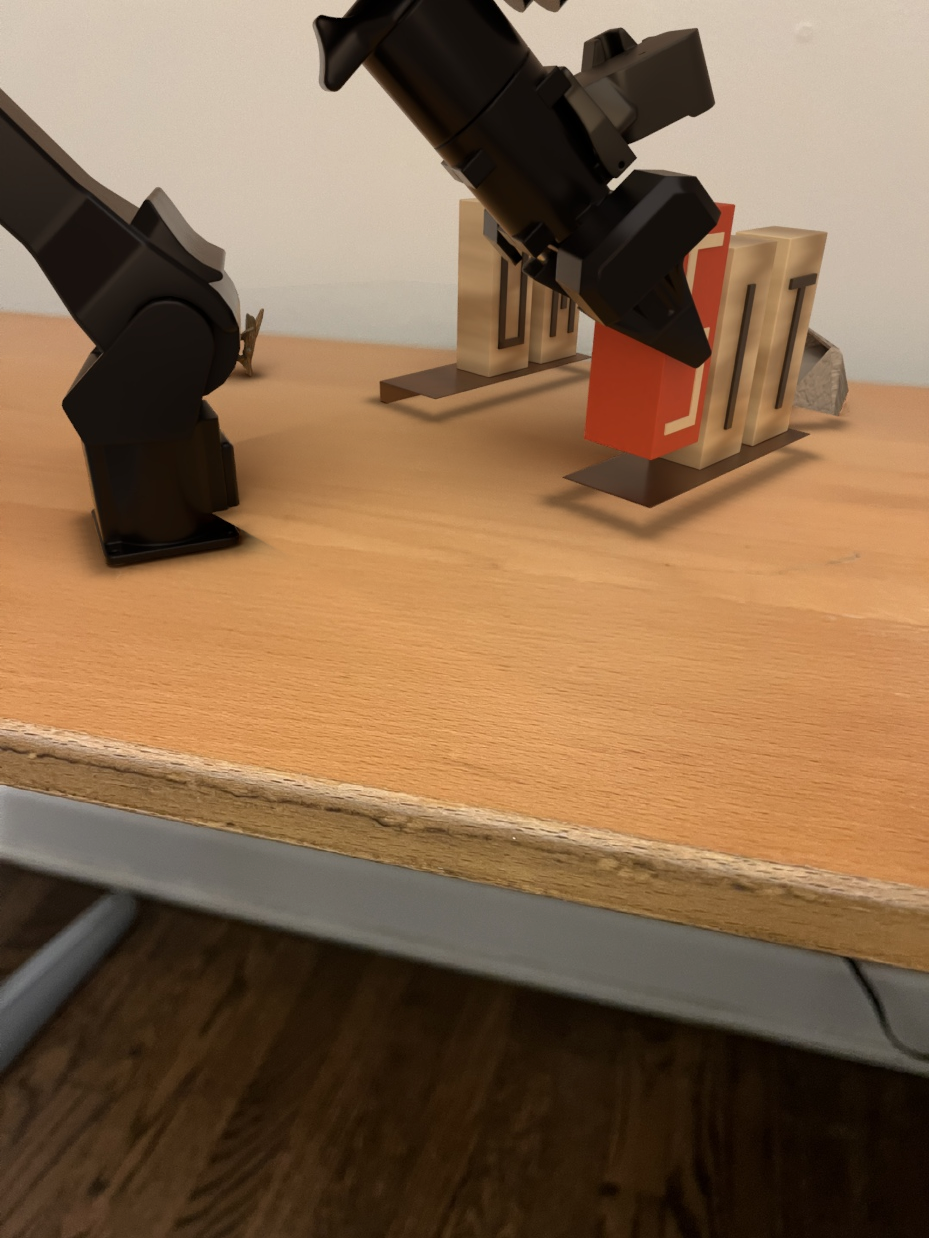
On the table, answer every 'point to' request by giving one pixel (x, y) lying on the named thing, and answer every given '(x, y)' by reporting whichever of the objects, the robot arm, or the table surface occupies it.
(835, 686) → the table surface
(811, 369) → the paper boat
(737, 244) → the sit board
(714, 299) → the red letter block
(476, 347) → the wooden blocks on base
